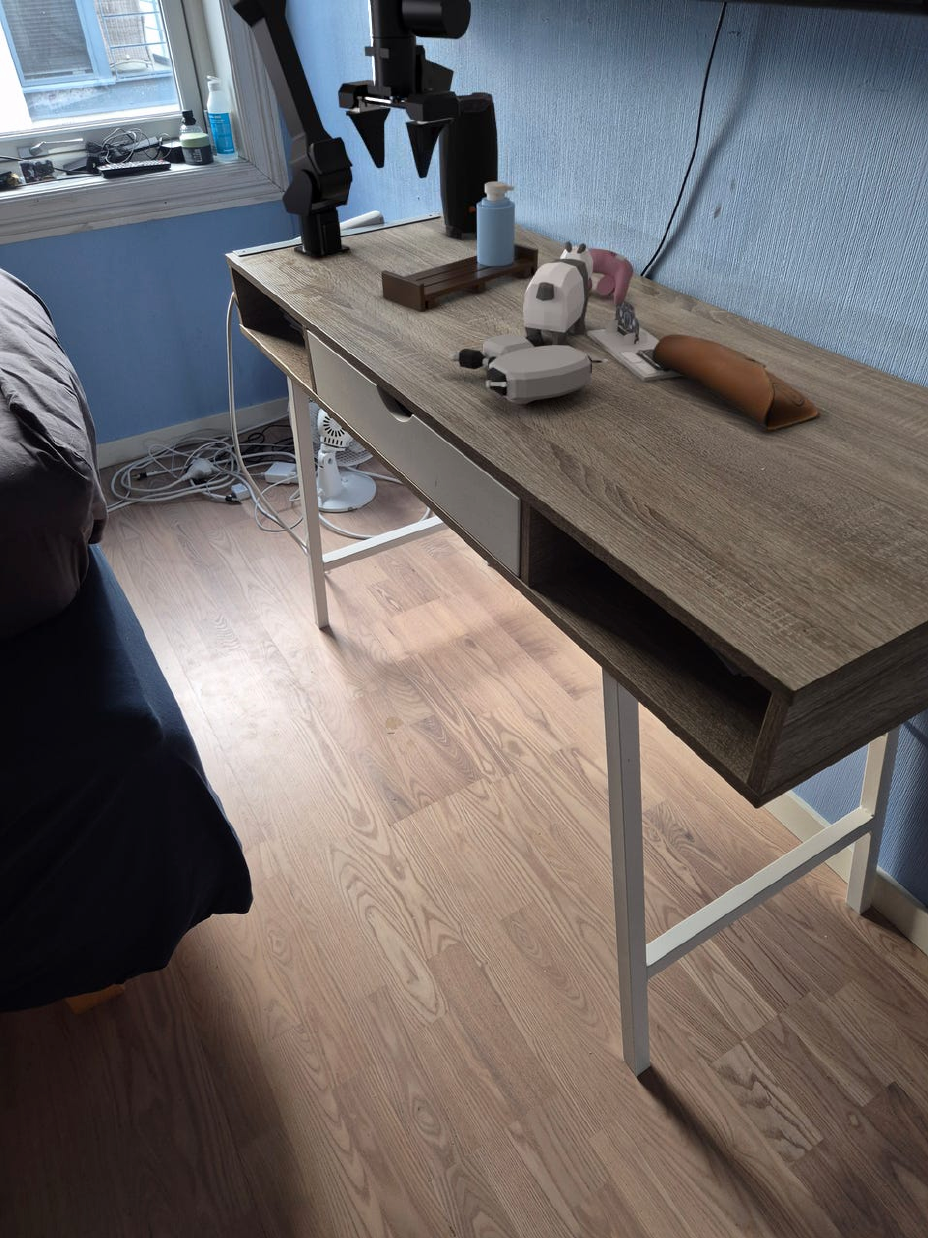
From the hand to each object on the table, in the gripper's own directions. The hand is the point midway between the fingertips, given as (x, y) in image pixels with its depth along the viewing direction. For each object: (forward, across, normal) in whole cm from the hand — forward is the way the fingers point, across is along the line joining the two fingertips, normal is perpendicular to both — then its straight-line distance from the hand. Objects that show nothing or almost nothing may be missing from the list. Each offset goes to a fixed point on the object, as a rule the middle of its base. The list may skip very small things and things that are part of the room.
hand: (401, 172), depth 119 cm
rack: (+13, -11, -1) cm, 17 cm away
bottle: (+11, -11, -8) cm, 17 cm away
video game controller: (+13, -27, -10) cm, 32 cm away
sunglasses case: (+13, -58, +3) cm, 59 cm away
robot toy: (+13, -41, +18) cm, 46 cm away
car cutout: (+13, -44, +1) cm, 46 cm away
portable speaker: (+13, +8, -20) cm, 25 cm away
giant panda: (+13, -33, +3) cm, 36 cm away
